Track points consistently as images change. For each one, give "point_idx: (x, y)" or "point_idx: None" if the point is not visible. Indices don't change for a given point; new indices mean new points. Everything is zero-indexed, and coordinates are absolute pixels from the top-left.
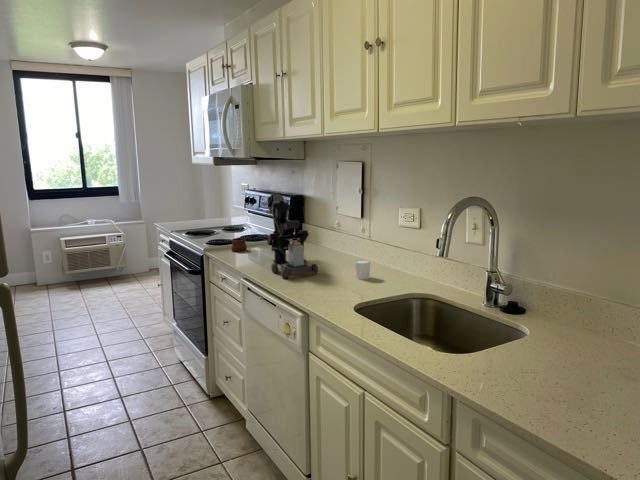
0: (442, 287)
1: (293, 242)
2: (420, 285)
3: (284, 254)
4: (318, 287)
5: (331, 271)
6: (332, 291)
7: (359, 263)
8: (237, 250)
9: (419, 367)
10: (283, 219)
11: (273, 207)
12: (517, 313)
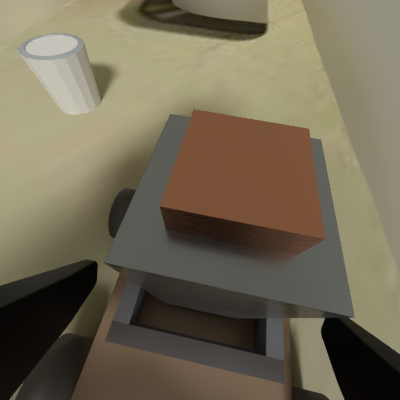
0: (68, 15)
1: (295, 174)
2: (75, 30)
3: (324, 329)
4: (242, 114)
5: (55, 206)
6: (233, 84)
7: (82, 42)
8: None
9: None
10: None
11: None
12: None
